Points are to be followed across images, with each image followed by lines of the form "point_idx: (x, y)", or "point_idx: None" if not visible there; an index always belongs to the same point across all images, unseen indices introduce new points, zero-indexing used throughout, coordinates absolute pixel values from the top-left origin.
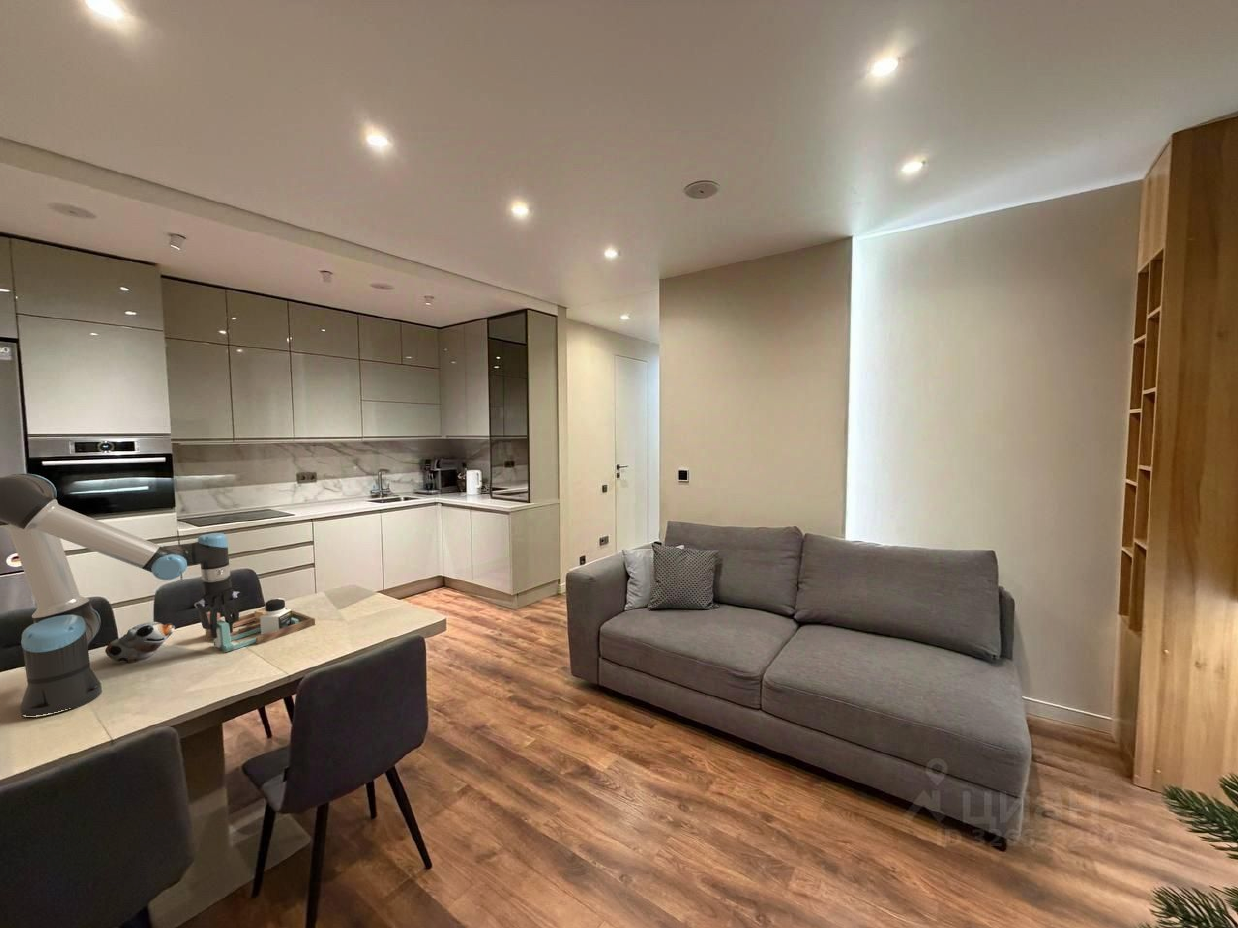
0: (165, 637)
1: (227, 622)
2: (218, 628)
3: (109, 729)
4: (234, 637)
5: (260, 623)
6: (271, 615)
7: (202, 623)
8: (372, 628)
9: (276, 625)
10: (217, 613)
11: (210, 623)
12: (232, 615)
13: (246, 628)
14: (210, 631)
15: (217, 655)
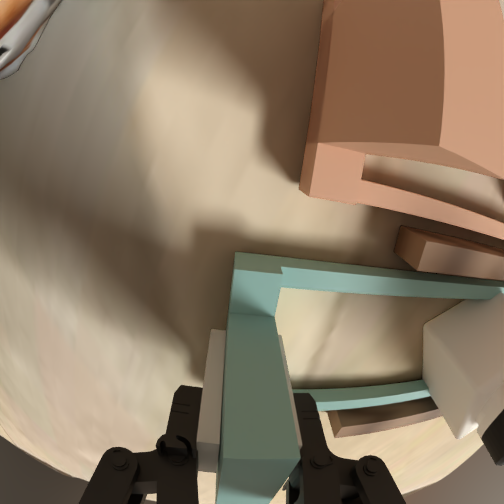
0: (10, 37)
1: (294, 479)
2: (211, 468)
3: (4, 428)
4: (350, 289)
5: (490, 275)
6: (471, 421)
7: (92, 498)
8: (429, 467)
9: (439, 404)
10: (500, 122)
11: (159, 496)
12: (363, 499)
13: (442, 271)
14: (331, 50)
15: (184, 380)
